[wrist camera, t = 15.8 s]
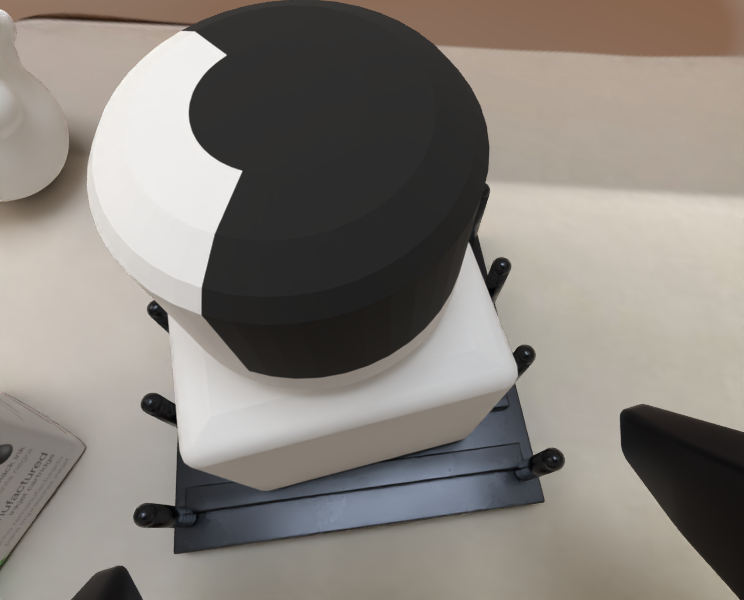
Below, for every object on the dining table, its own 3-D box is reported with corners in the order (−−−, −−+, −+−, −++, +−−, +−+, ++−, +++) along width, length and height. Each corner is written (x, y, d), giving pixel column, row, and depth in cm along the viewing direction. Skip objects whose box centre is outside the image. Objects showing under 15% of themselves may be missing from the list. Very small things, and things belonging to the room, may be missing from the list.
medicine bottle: (412, 256, 20) (447, -88, 9) (472, 438, 17) (637, 263, 6) (230, 298, 19) (23, -13, 8) (259, 494, 16) (-5, 418, 5)
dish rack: (186, 552, 17) (118, 560, 13) (193, 268, 22) (145, 201, 17) (535, 504, 17) (586, 495, 13) (469, 234, 22) (490, 160, 18)
